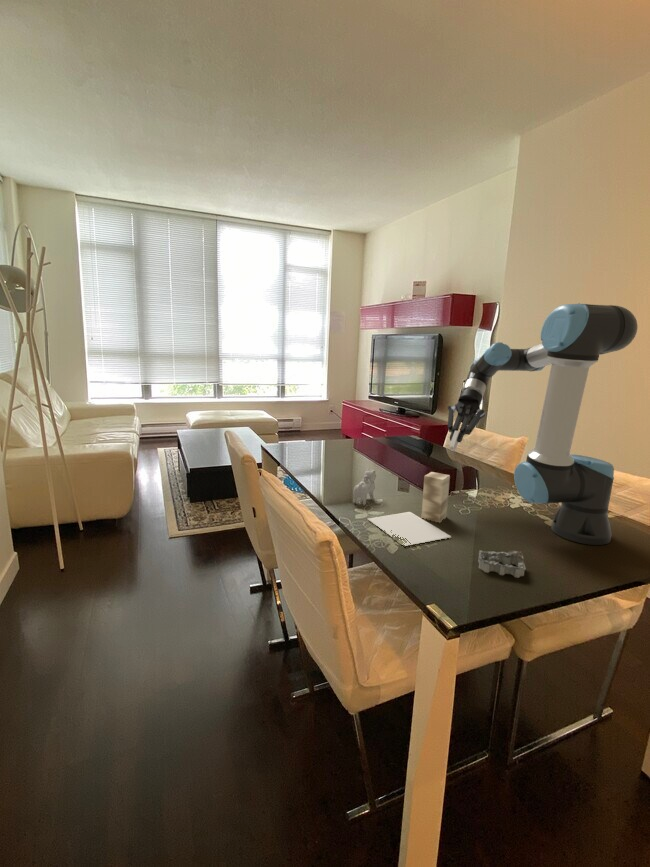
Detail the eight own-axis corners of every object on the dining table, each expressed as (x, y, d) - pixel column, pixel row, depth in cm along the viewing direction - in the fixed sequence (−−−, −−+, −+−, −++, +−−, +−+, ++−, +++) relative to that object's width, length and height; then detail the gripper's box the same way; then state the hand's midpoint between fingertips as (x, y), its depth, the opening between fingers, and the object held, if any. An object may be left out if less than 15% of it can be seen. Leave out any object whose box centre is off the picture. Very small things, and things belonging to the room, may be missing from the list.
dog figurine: (378, 496, 154) (380, 468, 152) (364, 507, 143) (366, 476, 141) (365, 493, 156) (366, 465, 154) (350, 504, 145) (351, 474, 143)
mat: (451, 538, 120) (451, 536, 120) (404, 547, 114) (404, 546, 114) (409, 513, 138) (410, 511, 138) (367, 520, 132) (367, 518, 132)
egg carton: (522, 566, 106) (524, 551, 105) (524, 581, 99) (527, 565, 98) (477, 558, 110) (479, 543, 109) (476, 571, 103) (478, 556, 102)
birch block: (446, 516, 136) (450, 475, 133) (439, 523, 131) (442, 479, 128) (428, 512, 139) (431, 471, 136) (421, 518, 134) (424, 476, 132)
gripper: (492, 403, 149) (473, 458, 139) (455, 399, 157) (435, 451, 147) (489, 389, 144) (469, 445, 134) (452, 386, 151) (430, 439, 142)
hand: (452, 448), depth 140 cm, fingers closed
